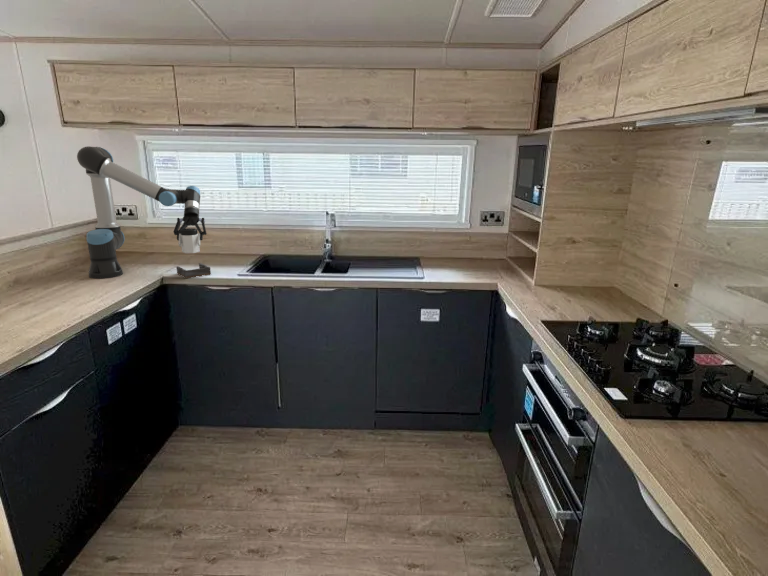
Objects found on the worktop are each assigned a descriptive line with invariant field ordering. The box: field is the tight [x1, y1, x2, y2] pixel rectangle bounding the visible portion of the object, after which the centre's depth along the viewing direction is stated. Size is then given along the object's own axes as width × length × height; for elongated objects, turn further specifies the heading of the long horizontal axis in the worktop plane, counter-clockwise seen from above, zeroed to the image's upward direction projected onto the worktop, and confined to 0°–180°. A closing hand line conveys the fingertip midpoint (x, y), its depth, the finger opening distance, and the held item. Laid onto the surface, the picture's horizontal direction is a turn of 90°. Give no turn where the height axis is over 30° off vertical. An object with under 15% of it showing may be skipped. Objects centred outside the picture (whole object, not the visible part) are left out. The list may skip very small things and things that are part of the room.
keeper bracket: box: [176, 262, 212, 279], centre depth 231 cm, size 13×13×4 cm
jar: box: [180, 227, 201, 254], centre depth 227 cm, size 9×8×12 cm
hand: (189, 245), depth 225 cm, fingers closed on jar, 9 cm apart
